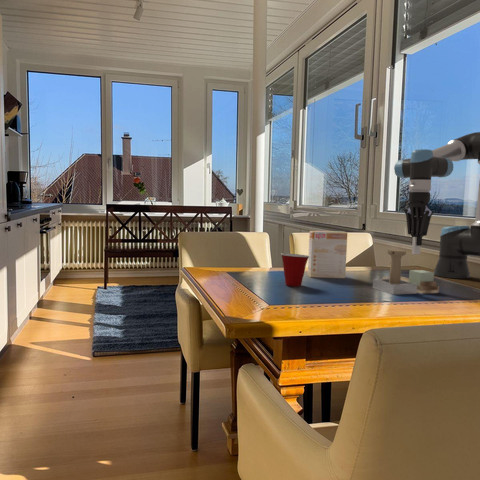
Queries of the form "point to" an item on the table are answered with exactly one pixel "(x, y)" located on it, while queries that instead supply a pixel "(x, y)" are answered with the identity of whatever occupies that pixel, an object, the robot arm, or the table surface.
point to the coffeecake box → (327, 254)
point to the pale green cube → (420, 276)
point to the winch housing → (395, 287)
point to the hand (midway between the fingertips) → (415, 253)
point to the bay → (423, 286)
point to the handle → (395, 265)
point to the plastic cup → (294, 268)
